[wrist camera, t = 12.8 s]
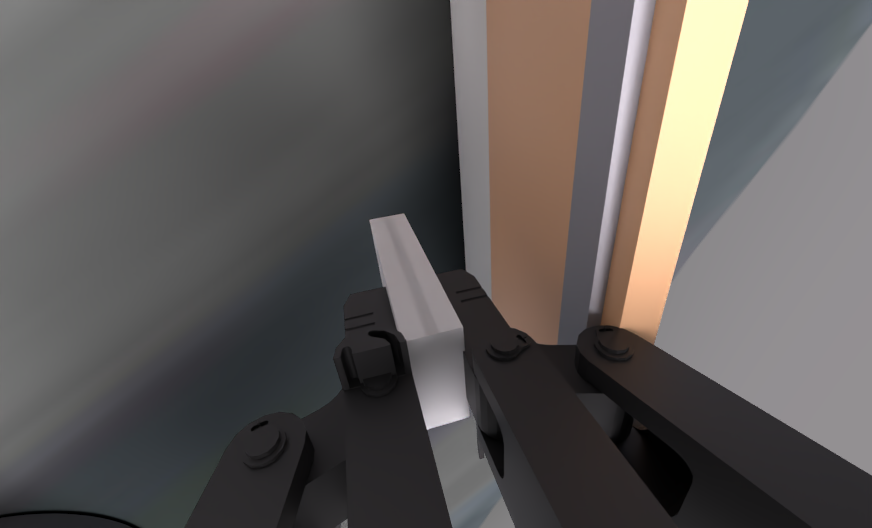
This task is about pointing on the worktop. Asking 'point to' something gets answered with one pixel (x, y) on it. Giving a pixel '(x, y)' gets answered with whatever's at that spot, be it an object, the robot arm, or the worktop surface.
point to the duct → (473, 133)
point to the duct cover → (597, 153)
